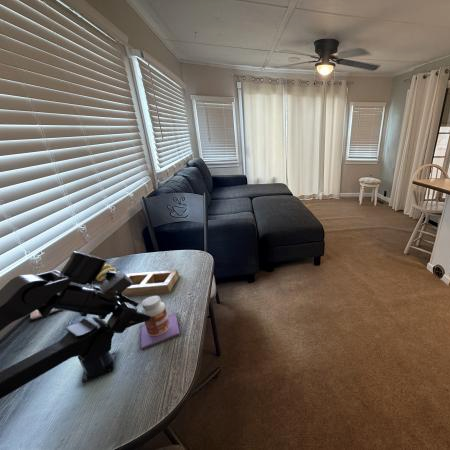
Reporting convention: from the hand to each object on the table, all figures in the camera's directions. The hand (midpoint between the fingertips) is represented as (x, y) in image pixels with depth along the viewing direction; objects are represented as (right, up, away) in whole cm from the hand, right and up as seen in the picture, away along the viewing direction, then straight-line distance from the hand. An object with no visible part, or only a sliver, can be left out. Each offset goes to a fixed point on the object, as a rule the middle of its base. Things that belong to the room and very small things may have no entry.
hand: (143, 311), depth 69 cm
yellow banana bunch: (-41, +2, +36) cm, 55 cm away
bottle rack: (-17, 0, +29) cm, 33 cm away
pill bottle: (+1, -8, +6) cm, 10 cm away
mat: (+1, -8, +6) cm, 10 cm away
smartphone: (-43, -5, +18) cm, 47 cm away
